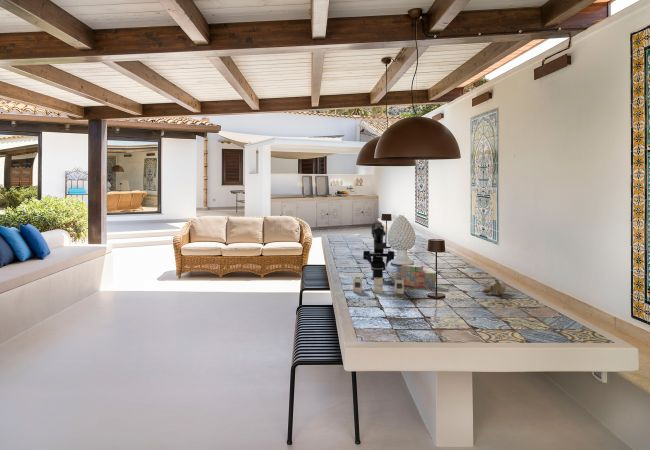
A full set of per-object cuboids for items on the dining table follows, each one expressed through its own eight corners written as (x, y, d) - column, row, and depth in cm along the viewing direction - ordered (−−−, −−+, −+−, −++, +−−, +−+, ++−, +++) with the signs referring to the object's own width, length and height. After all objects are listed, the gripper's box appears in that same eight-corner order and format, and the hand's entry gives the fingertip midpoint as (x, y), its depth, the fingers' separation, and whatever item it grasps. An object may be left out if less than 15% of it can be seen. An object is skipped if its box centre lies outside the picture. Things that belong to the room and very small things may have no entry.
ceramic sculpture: (510, 278, 278) (498, 284, 267) (510, 293, 279) (498, 299, 268) (492, 276, 285) (480, 281, 274) (492, 290, 286) (480, 296, 275)
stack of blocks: (437, 286, 297) (437, 266, 295) (434, 288, 291) (435, 268, 290) (403, 283, 307) (404, 263, 306) (400, 284, 301) (400, 265, 300)
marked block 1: (353, 290, 285) (353, 276, 285) (361, 290, 285) (362, 277, 284) (353, 292, 280) (353, 278, 280) (361, 292, 280) (361, 278, 279)
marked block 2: (394, 291, 283) (394, 277, 282) (403, 291, 283) (403, 277, 282) (394, 293, 278) (395, 279, 277) (403, 293, 277) (403, 279, 277)
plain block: (373, 291, 284) (374, 277, 283) (382, 291, 284) (382, 277, 283) (373, 293, 279) (374, 279, 279) (382, 293, 279) (382, 279, 278)
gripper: (363, 237, 293) (363, 259, 283) (394, 238, 292) (395, 259, 282) (363, 248, 302) (363, 269, 292) (393, 248, 300) (394, 269, 291)
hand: (378, 266), depth 289 cm, fingers open, 8 cm apart
